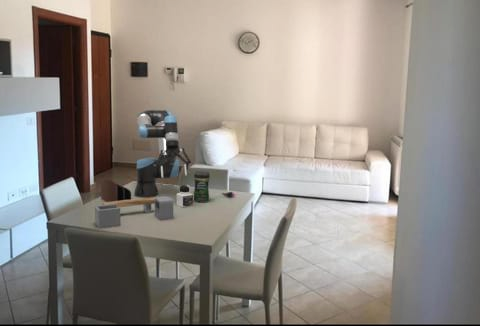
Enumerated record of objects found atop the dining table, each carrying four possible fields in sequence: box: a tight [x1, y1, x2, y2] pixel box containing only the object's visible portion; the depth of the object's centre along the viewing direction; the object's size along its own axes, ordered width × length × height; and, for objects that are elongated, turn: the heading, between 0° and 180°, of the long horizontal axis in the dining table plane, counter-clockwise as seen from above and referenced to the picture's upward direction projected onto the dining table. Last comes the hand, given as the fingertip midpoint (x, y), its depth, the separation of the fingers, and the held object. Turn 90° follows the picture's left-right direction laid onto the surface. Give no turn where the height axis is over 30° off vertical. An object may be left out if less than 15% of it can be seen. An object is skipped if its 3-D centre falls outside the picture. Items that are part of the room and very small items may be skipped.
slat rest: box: [142, 204, 152, 214], centre depth 252 cm, size 5×23×5 cm, turn 119°
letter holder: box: [100, 178, 132, 202], centre depth 275 cm, size 10×20×14 cm, turn 42°
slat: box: [102, 197, 155, 208], centre depth 251 cm, size 4×28×2 cm, turn 119°
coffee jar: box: [193, 170, 211, 203], centre depth 281 cm, size 10×8×19 cm
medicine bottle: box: [176, 184, 194, 209], centre depth 271 cm, size 7×7×12 cm
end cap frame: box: [94, 196, 174, 229], centre depth 240 cm, size 9×39×10 cm, turn 119°
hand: (174, 176), depth 265 cm, fingers open, 13 cm apart
